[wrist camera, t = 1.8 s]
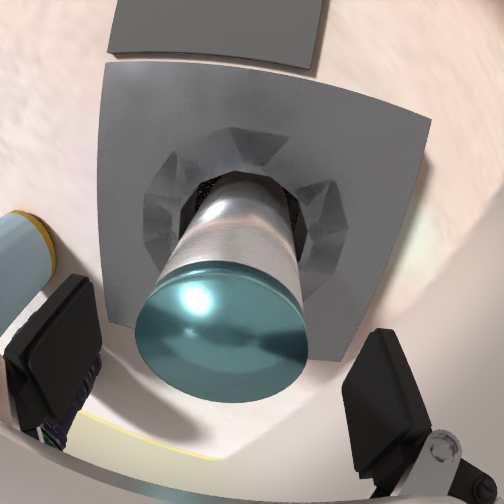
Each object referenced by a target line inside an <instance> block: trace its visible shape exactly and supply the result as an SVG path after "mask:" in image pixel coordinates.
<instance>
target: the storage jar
mask: <svg viewBox="0 0 504 504" xmlns="http://www.w3.org/2000/svg"><path fill="white" fill-rule="evenodd" d="M36 312H37V311H36ZM36 312H34V313H33V314H32V315H31V316H30V317H29V319H28V321H29V320H30V319H31V318H32V316H33V315H34V314H35V313H36ZM28 321H27V322H28ZM27 322H26V323H27ZM26 323H25V324H24V325H23V326H22V327H21V328H19V329H18V331H17V332H16V333H15V334H14V336H13V337H12V340H13V339H14V338H15V337H16V336H17V334H18V333H19V332H20V331H21V329H22V328H23V327H24V326H25V325H26ZM12 340H11V341H10V343H11V342H12ZM10 343H9V344H10ZM9 344H8V345H9ZM8 345H7V347H8ZM7 347H6V348H7ZM6 348H5V349H6ZM4 354H5V350H4ZM2 357H3V356H2ZM101 365H102V364H101V358H100V355H99V353H98V355H97V356H96V358H95V360H94V362H93V364H92V365H91V367H90V369H89V371H88V373H87V374H86V376H85V378H84V380H83V382H82V383H81V385H80V387H79V389H78V391H77V393H76V395H75V397H74V399H73V400H72V402H71V404H70V406H69V408H68V410H67V412H66V414H65V416H64V418H63V419H62V420H58V422H57V424H56V426H54V425H52V424H50V423H48V422H45V421H42V423H41V425H40V428H41V432H42V436H43V439H44V443H45V444H47V445H49V446H51V447H53V448H55V449H58V450H60V451H62V452H63V449H64V448H65V447H66V442H67V433H68V431H69V429H70V427H71V425H72V422H73V420H74V418H75V416H76V414H77V412H78V411H79V410H81V409H82V407H83V405H84V403H85V400H86V399H87V398H88V396H89V394H90V392H91V390H92V388H93V383H94V381H95V378H96V376H97V375H98V373H99V371H100V369H101Z"/></svg>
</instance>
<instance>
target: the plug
mask: <svg viewBox="0 0 504 504" xmlns="http://www.w3.org/2000/svg"><path fill="white" fill-rule="evenodd" d="M135 338H136V343H137V347H138V349H139V352H140V354H141V356H142V358H143V359H144V361H145V362H146V364H147V365H148V366H149V367H150V369H151V370H152V371H153V372H154V373H155V374H156V375H157V376H159V377H160V378H161V379H162V380H163V381H165V382H166V383H168V384H169V385H171V386H172V387H174V388H176V389H178V390H180V391H182V392H184V393H186V394H189V395H191V396H194V397H197V398H201V399H204V400H209V401H214V402H222V403H244V402H252V401H257V400H261V399H264V398H267V397H270V396H272V395H275V394H277V393H279V392H281V391H282V390H284V389H286V388H287V387H288V386H290V385H291V384H292V383H293V382H294V381H295V380H296V379H297V378H298V377H299V375H300V374H301V373H302V371H303V369H304V367H305V365H306V362H307V358H308V340H307V332H306V324H305V317H304V309H303V301H302V294H301V287H300V280H299V273H298V266H297V260H296V253H295V246H294V240H293V234H292V227H291V221H290V215H289V209H288V203H287V198H286V195H285V193H284V190H283V189H282V187H281V186H280V184H279V183H278V182H276V181H275V180H274V179H273V178H272V177H269V176H264V175H258V174H253V173H247V172H241V171H235V170H234V171H231V172H229V173H227V174H225V175H224V176H222V177H221V178H220V179H218V181H217V182H216V183H215V184H214V185H213V187H212V188H211V190H210V192H209V193H208V195H207V196H206V198H205V200H204V201H203V203H202V204H201V206H200V208H199V209H198V211H197V213H196V214H195V216H194V218H193V219H192V221H191V223H190V224H189V226H188V228H187V229H186V231H185V233H184V234H183V236H182V238H181V239H180V241H179V243H178V245H177V246H176V248H175V250H174V251H173V253H172V255H171V257H170V258H169V260H168V262H167V264H166V265H165V267H164V269H163V271H162V273H161V274H160V276H159V278H158V280H157V282H156V283H155V285H154V287H153V289H152V291H151V293H150V294H149V296H148V298H147V300H146V302H145V304H144V306H143V307H142V309H141V311H140V313H139V315H138V318H137V321H136V326H135Z"/></svg>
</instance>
